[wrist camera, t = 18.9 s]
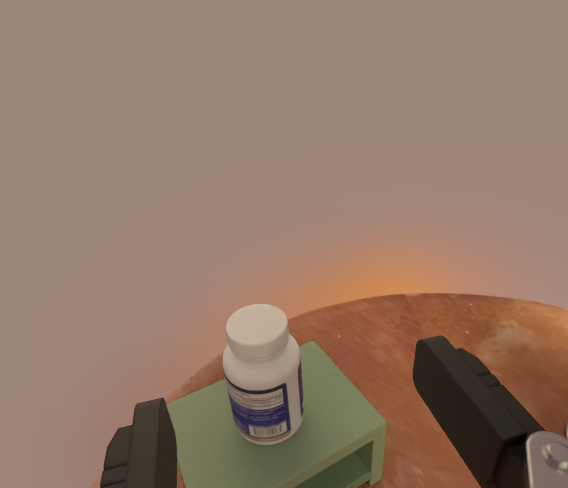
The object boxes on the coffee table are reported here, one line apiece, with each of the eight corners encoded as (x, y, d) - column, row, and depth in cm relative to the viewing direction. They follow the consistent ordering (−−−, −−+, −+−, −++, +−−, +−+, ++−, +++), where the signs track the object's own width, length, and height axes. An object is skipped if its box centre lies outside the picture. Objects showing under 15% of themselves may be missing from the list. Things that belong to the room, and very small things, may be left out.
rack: (315, 392, 39) (313, 339, 35) (382, 479, 31) (387, 421, 27) (178, 460, 33) (161, 405, 30) (216, 587, 25) (198, 532, 22)
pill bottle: (261, 376, 32) (250, 288, 27) (317, 404, 29) (313, 311, 25) (218, 425, 28) (197, 332, 24) (277, 462, 25) (265, 364, 21)
